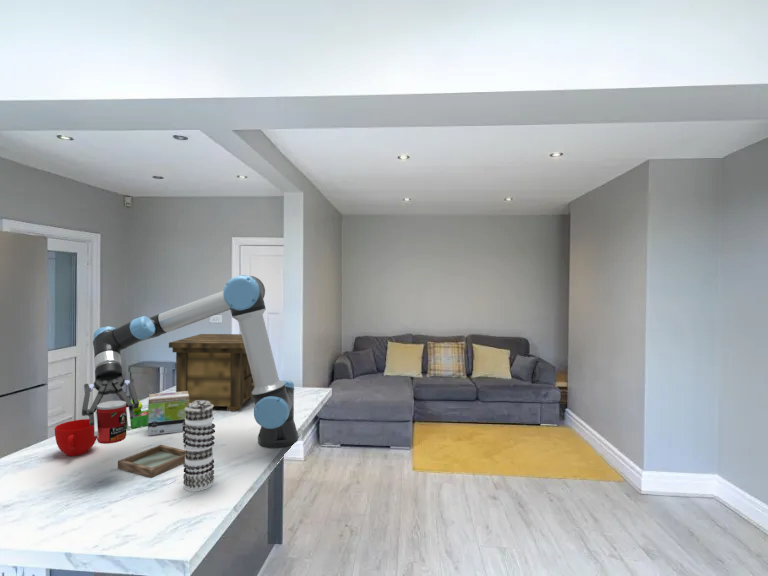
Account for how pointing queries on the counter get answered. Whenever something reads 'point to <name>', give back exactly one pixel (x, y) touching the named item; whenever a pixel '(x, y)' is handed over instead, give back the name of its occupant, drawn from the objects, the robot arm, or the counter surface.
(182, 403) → the tea box
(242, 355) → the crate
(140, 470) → the tray
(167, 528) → the counter surface
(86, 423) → the ceramic cup
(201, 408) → the decorative candle
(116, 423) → the canned food
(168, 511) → the counter surface
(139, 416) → the fruit basket
